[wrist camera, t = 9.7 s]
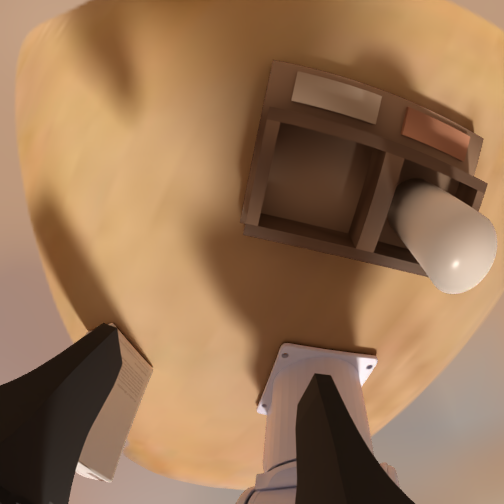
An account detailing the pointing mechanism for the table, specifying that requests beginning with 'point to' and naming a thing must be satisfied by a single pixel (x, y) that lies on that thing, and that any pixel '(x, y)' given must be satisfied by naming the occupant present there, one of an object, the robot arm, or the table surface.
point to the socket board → (348, 165)
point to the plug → (443, 235)
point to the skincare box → (115, 416)
